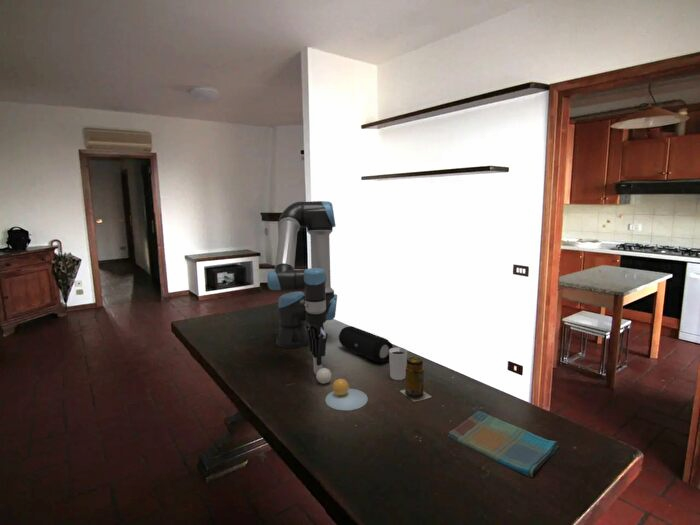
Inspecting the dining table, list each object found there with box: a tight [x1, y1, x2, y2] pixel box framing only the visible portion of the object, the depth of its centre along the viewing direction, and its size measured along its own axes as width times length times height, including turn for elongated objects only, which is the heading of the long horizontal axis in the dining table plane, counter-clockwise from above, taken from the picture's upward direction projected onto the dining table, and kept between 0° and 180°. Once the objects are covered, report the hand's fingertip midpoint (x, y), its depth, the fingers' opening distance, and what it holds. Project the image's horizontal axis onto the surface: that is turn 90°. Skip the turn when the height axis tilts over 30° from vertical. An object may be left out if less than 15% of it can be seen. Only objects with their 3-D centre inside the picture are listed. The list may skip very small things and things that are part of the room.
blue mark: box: [325, 388, 369, 412], centre depth 130 cm, size 14×14×1 cm
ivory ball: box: [315, 367, 332, 385], centre depth 141 cm, size 6×6×6 cm
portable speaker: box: [338, 326, 394, 363], centre depth 166 cm, size 26×10×10 cm, turn 40°
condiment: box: [399, 356, 432, 403], centre depth 131 cm, size 7×8×12 cm
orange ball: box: [332, 378, 350, 396], centre depth 132 cm, size 6×6×6 cm
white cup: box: [388, 346, 408, 381], centre depth 145 cm, size 7×7×10 cm
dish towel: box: [447, 410, 560, 478], centre depth 106 cm, size 17×23×2 cm
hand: (317, 372), depth 146 cm, fingers closed
